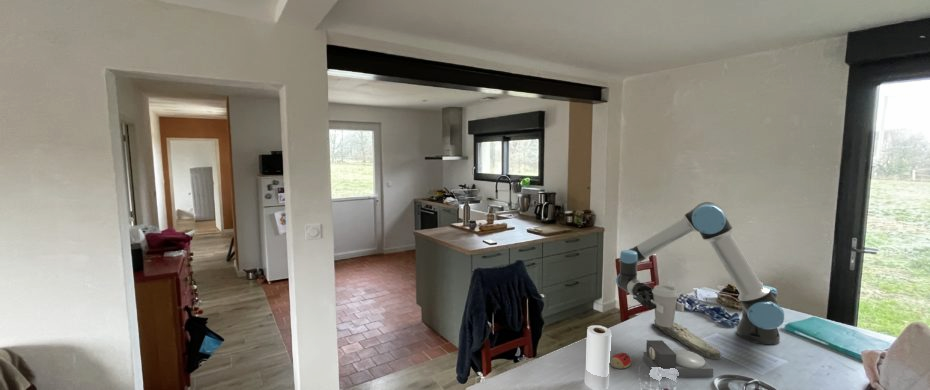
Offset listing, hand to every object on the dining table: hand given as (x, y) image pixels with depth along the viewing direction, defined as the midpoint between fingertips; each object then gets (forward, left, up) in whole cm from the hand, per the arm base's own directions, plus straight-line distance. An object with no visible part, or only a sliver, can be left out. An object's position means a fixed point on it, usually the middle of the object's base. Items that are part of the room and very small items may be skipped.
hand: (672, 309), depth 150 cm
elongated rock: (-13, -16, -20) cm, 29 cm away
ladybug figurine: (+22, +5, -20) cm, 30 cm away
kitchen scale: (+2, +7, -20) cm, 21 cm away
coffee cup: (+1, -5, -8) cm, 10 cm away
